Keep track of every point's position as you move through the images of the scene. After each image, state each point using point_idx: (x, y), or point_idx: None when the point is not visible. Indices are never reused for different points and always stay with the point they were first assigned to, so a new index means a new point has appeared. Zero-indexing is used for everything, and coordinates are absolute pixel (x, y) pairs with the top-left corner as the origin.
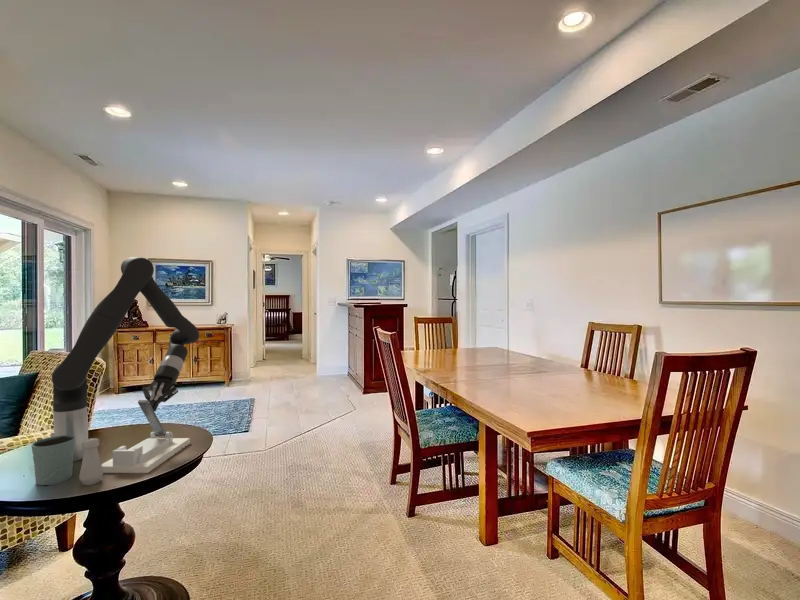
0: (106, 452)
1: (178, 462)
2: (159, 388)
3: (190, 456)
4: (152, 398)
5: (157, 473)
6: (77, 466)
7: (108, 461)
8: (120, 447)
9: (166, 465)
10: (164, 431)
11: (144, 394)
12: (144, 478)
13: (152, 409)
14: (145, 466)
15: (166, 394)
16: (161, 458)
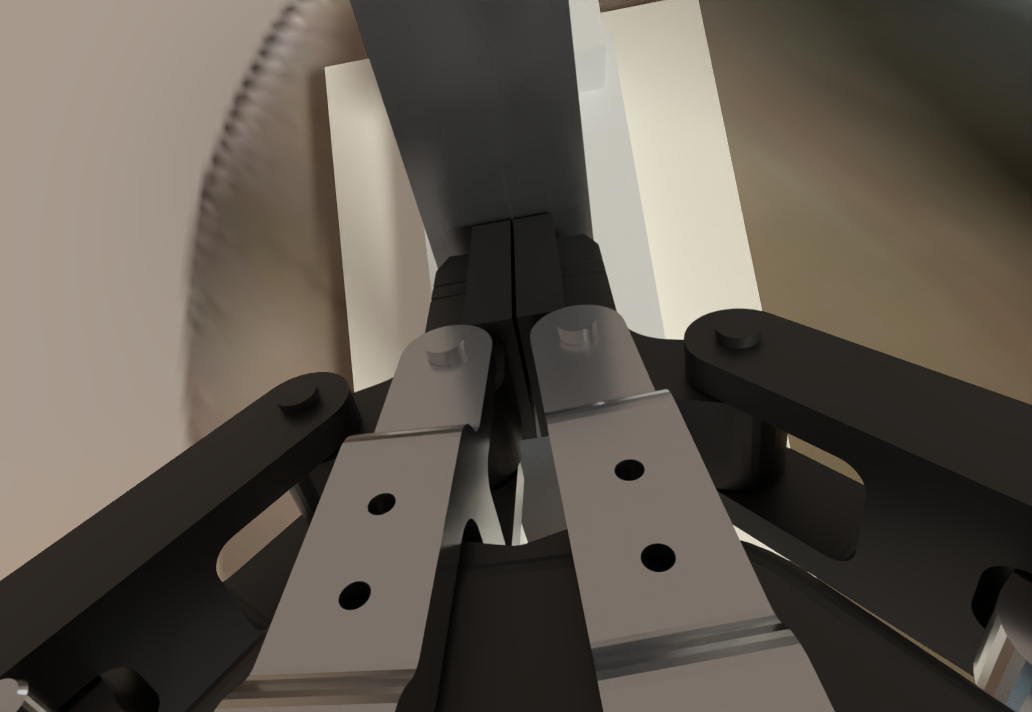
0: (1013, 355)
1: (244, 276)
2: (415, 591)
3: (221, 390)
4: (552, 339)
5: (273, 100)
6: (963, 77)
7: (699, 80)
8: (584, 9)
9: (296, 216)
10: (525, 528)
11: (926, 374)
12: (306, 26)
13: (418, 200)
14: (341, 66)
15: (162, 482)
16: (343, 229)
